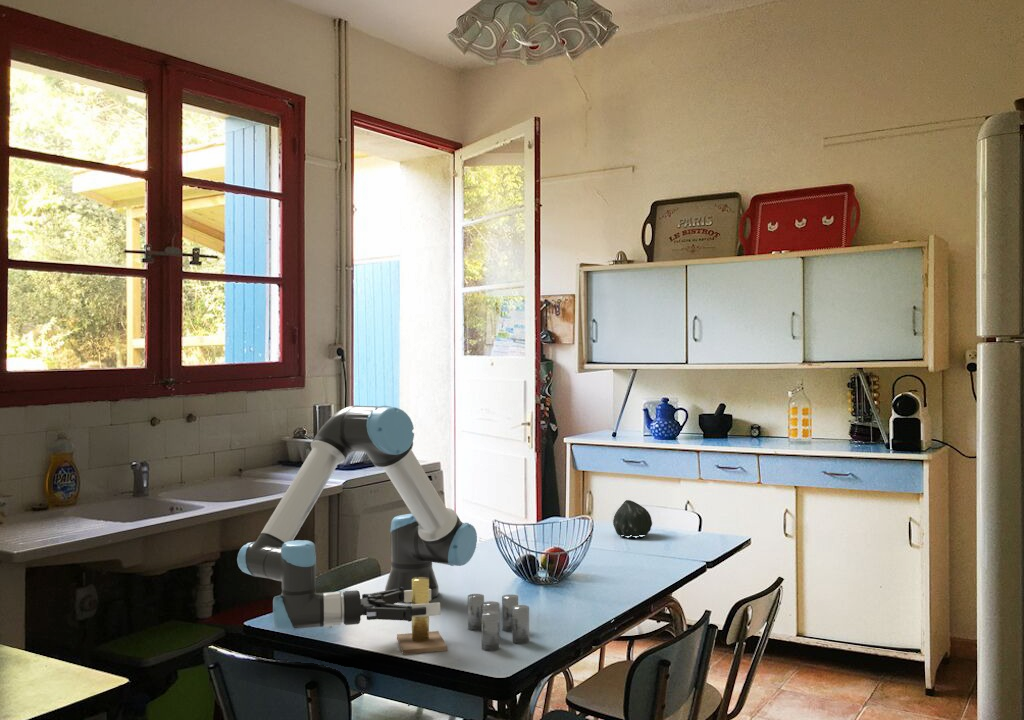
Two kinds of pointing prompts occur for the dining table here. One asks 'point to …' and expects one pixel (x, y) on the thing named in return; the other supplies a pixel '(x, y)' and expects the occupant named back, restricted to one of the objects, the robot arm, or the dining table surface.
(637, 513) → the squash
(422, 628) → the cylinder
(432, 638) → the board
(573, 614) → the dining table surface
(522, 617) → the spacers
